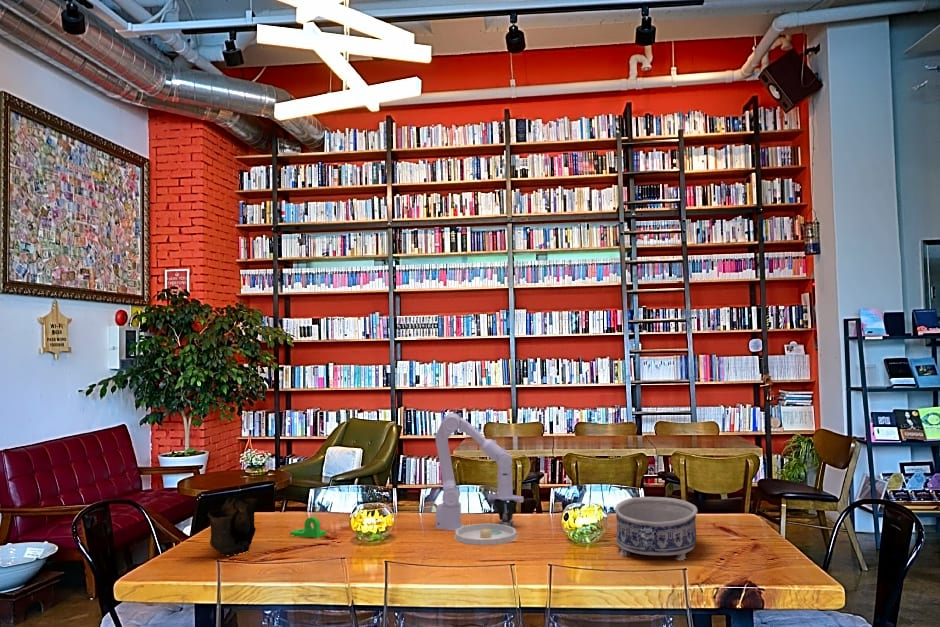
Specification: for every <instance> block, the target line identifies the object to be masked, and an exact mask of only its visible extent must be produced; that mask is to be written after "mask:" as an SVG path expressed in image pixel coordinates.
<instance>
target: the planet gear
mask: <svg viewBox="0 0 940 627" xmlns="http://www.w3.org/2000/svg"><path fill="white" fill-rule="evenodd" d="M497 524H502V525H507V526H510V527H513V528H515V527H514V526H515V525H514V524H515V523H514V520H510V521H509V520H508V510H507V511H505V510H504V512H502V520H498V523H497Z"/></svg>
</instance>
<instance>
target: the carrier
mask: <svg viewBox="0 0 940 627" xmlns="http://www.w3.org/2000/svg"><path fill="white" fill-rule="evenodd" d="M454 531H455V533H454V534H455V535H454V540H455V541H457V543H462V544H464V545H473V546H494V545H495V546H497V545H501V544H508V543H511V542H514V541H516V540H517V539H518V535H517V534H518V533H517V530H516V528H515V527H510V526H507V525H502V524H498V523H493V522H492V523H491V522H490V523H475V524H468V525H465V526H463V527H461V528H459V529H457V530H454Z"/></svg>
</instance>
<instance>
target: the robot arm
mask: <svg viewBox="0 0 940 627" xmlns="http://www.w3.org/2000/svg"><path fill="white" fill-rule="evenodd" d="M457 430H458V433H464V434H467V435H468V436H469V437H470V438H471V439H473V441H475V442H476V443H477V444H479V446H481V447H480V448H481V451H482V452H483V453H484V454H485V455H486V456H488V457H489V458H490V459H491V460H492V461H493V462H496V465H497V493H488V494H487V500H488V501H489V500H493V501H494V502H493V505H494V507H495V508H496V511H497V514H498V517H499V521H501V520H502V512H504V511H505V510H504V506H505V501H506V506H507V507H506V509H507V511H508V520H509V521H510V520H511V521H513V515H514V511H515V508H516V506H517V504H518V503H524V501H525V500H524V496H520V495H517V494H516V495H515V494H513V493H514V492H513V491H514V490H513V488H514V487H513V467H512V465H513V458H512V456H511V454H510V453H509V452H508V451H507V450H506V448H502V447H501V446H499V445H498V444H497V440H495V439H494V440H493V439H491V438H490V439H487V438H486V437H485V436H484V435H483V434H481V433H480V432H479V431H478V430H477V429H476V428H475V427H474V426H473V425H472V424H471V423H470V422H468V421H467V420H466V419H464V418H463V417H460V415H459V414H458V413H456V412H451V413H448V414H447V415H446V416H445V417H444V418H443V420H442V421H441V423H440V425H439V427H438V430H437V431H436V434H435V436H434V439H435V444H436V449H437V456H438V461H439V468H440V473H441V479H442V489H443V490H442V491H443V494H442V503H439V504H438V505H436V508H435V528H434V529H439V530H446V531H447V530H448V531H455V530H457V529H459V528H461V527H463V526H466V525H465V524H462V507H461V506H462V503H461V502H460V495H461V492H460V489H459V488H458V486H457V482H456V479H455V473H454V469H453V463H452V457H451V452H450V445H449V438H450V437H451V435H452V434H453V433H454V432H457Z"/></svg>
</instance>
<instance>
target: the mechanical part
mask: <svg viewBox="0 0 940 627" xmlns="http://www.w3.org/2000/svg"><path fill="white" fill-rule="evenodd" d="M311 523H312V524H311ZM312 525H313V527H312ZM289 534H290V535H294V536H293V537H296V536H303V537H302V538H306V537H313V538H312V539H319V538H318V537H320V538H322V537H324V536H326V535H327V530H323V529H321V523H320V520H319V519H318V518H317V517H316V516H311V517H308V518H306V519H305V521H304V528H299V529H295V530H292V531H290V533H289ZM325 534H326V535H325ZM323 535H324V536H323ZM321 536H322V537H321Z"/></svg>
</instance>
